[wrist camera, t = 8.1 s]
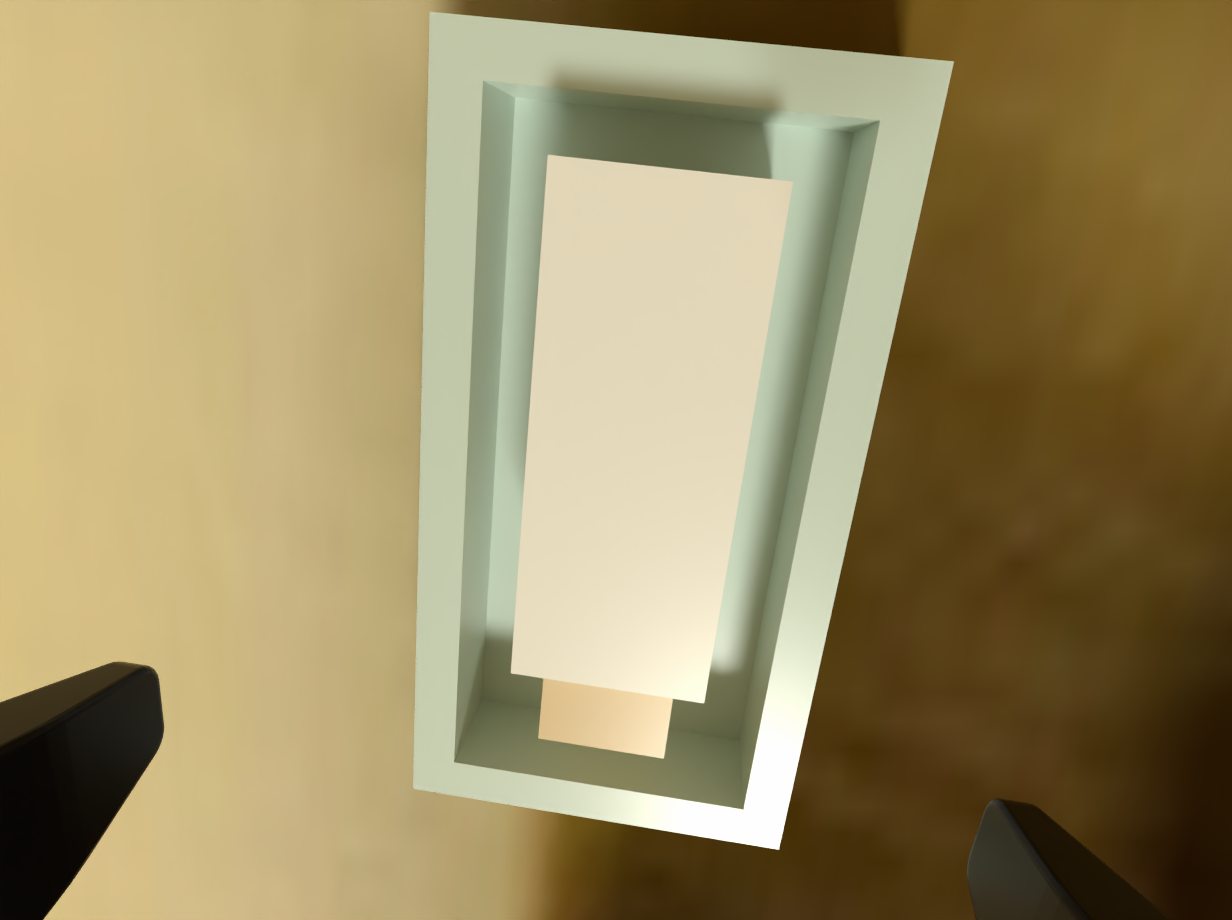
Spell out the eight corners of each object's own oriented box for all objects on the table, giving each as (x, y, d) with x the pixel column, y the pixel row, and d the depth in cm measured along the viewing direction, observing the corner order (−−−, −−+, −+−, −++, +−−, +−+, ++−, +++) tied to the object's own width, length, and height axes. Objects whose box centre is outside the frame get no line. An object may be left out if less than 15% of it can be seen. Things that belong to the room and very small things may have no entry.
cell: (772, 186, 16) (793, 181, 12) (692, 673, 20) (690, 782, 16) (583, 165, 16) (547, 154, 13) (542, 650, 20) (505, 752, 17)
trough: (903, 89, 16) (953, 60, 13) (767, 751, 22) (778, 849, 18) (483, 48, 17) (429, 11, 14) (456, 701, 22) (413, 788, 19)
